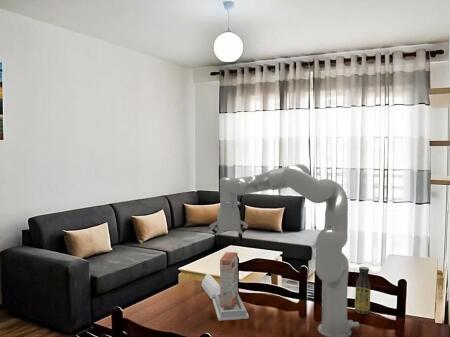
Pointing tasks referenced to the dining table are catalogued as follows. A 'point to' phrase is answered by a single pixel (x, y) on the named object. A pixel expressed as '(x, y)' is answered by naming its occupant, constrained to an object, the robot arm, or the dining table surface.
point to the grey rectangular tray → (230, 310)
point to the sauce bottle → (362, 292)
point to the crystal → (210, 286)
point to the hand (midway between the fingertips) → (229, 243)
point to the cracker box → (228, 279)
